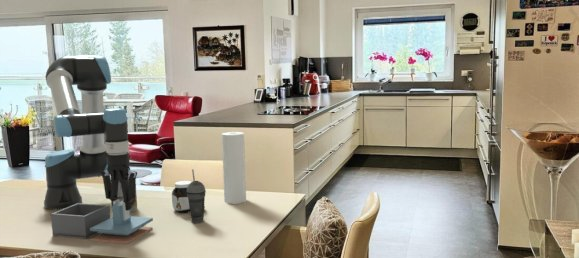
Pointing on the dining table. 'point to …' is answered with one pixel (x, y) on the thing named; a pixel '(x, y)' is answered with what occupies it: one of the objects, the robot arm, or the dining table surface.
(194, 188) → the beverage cup
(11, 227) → the dining table surface
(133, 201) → the coffee box
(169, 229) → the dining table surface
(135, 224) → the lid
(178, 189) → the spread jar
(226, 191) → the paper towel roll
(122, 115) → the robot arm
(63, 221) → the storage box
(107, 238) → the rubber mat
